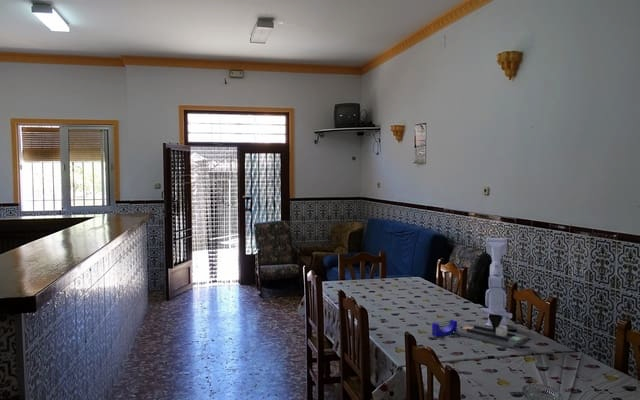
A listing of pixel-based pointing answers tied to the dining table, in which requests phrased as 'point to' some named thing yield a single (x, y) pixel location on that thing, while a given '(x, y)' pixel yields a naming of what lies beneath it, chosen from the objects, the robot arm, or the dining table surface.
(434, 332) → the cable clip
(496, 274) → the robot arm
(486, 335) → the breaker panel
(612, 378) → the dining table surface
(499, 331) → the switch handle
